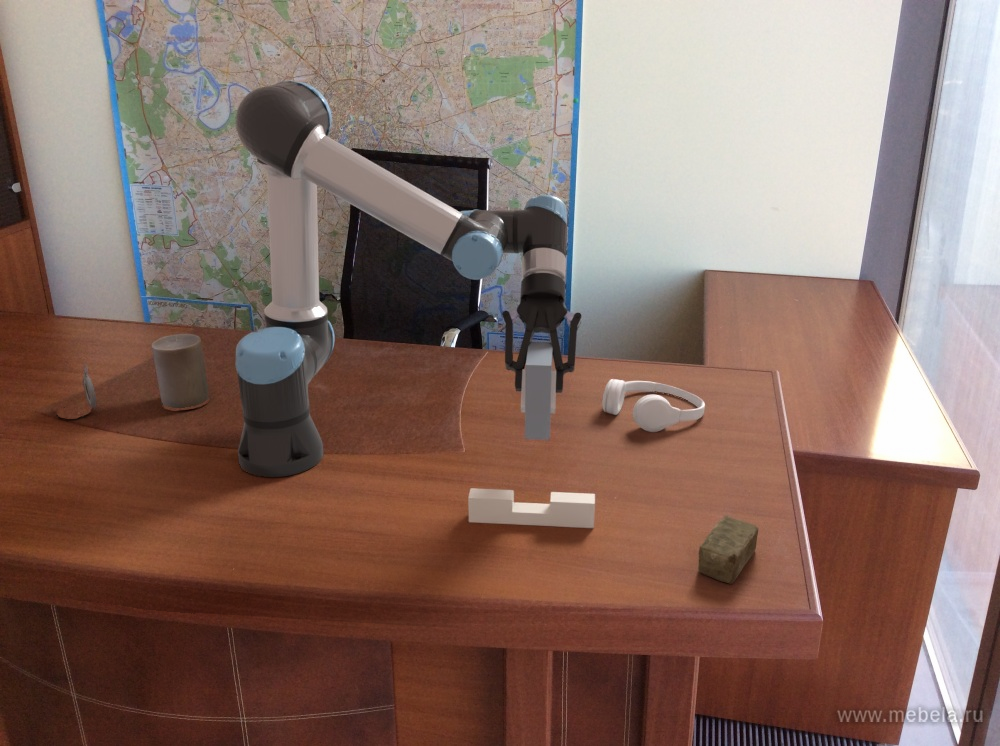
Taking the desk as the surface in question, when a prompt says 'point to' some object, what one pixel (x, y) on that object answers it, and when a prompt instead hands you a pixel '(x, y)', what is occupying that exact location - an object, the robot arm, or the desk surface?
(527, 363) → the blue-grey rectangular block
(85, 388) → the pocket watch
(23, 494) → the desk surface
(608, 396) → the headphones
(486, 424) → the desk surface
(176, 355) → the grey cylinder
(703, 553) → the stone block
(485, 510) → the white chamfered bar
